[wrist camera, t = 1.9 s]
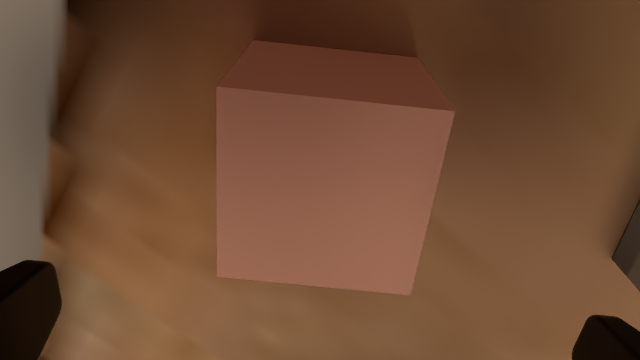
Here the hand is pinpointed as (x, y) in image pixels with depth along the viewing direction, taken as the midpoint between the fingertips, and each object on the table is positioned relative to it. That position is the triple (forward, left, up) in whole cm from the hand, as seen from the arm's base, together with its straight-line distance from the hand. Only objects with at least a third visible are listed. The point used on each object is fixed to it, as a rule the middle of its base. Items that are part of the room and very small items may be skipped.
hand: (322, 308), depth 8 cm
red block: (0, 0, -8) cm, 8 cm away
